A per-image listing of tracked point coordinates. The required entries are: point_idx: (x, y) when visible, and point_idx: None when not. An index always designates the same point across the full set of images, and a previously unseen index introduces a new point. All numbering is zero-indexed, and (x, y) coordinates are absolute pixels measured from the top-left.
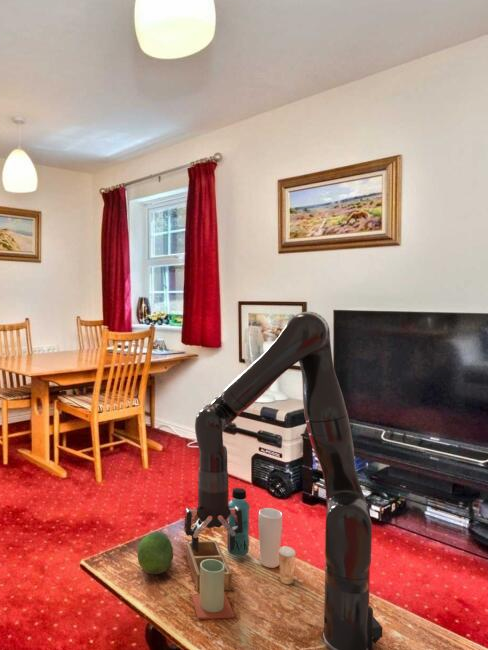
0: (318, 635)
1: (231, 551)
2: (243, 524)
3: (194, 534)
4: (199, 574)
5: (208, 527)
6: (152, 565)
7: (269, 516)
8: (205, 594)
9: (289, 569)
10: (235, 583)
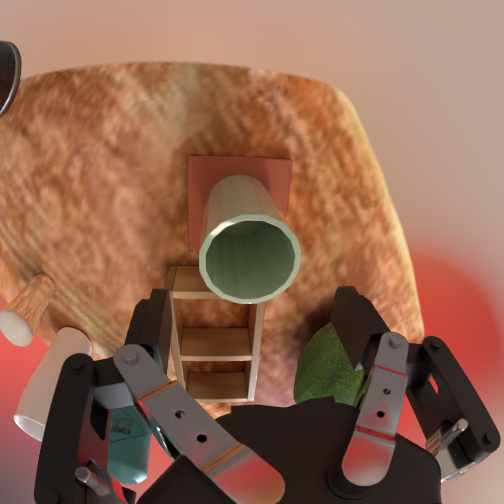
0: (22, 99)
1: None
2: (111, 424)
3: (403, 346)
4: None
5: (331, 397)
6: None
7: None
8: (272, 198)
9: (23, 291)
10: None
